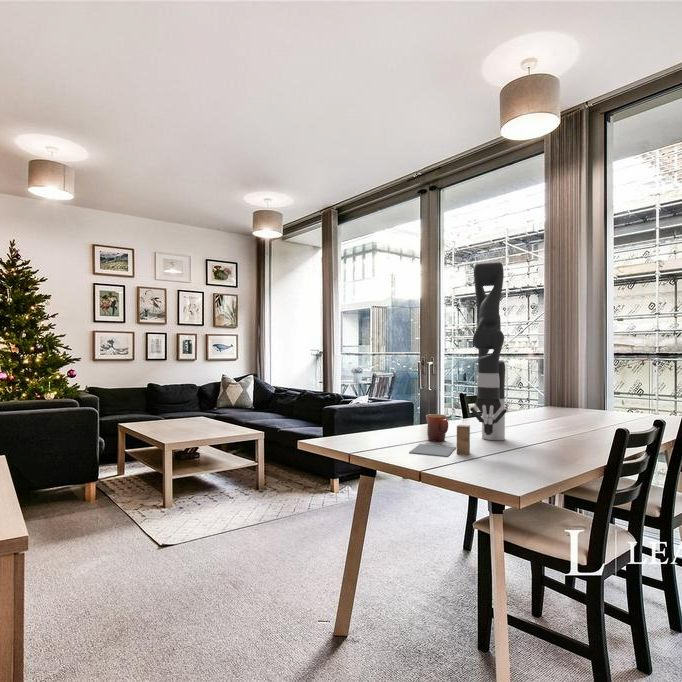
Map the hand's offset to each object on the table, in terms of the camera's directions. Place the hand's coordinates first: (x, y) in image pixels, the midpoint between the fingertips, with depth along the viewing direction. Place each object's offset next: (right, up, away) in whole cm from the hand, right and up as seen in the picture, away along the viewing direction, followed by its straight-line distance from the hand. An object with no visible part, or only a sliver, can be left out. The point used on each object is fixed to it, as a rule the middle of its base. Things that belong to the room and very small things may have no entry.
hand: (488, 434), depth 165 cm
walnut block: (-8, -8, +3) cm, 11 cm away
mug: (-12, -8, +26) cm, 30 cm away
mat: (-18, -8, +8) cm, 21 cm away
